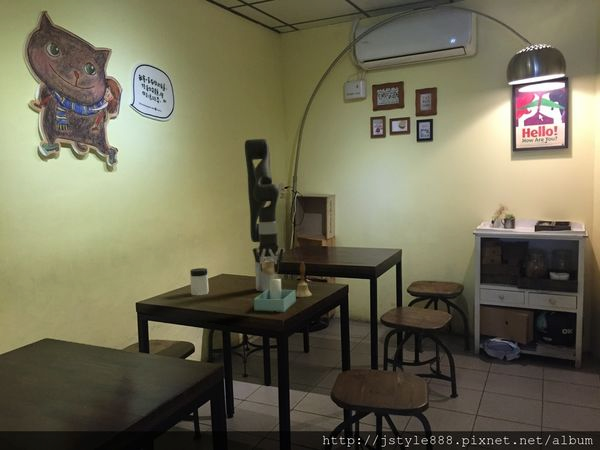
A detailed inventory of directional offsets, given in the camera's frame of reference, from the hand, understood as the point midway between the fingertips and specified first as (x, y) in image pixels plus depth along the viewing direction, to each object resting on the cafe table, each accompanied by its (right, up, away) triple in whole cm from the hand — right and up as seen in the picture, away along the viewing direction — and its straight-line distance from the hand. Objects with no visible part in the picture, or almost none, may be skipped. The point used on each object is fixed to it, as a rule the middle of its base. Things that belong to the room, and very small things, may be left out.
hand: (269, 272), depth 200 cm
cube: (0, -1, 0) cm, 0 cm away
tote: (+2, -15, +7) cm, 17 cm away
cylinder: (+2, -14, +10) cm, 18 cm away
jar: (-37, -14, +35) cm, 53 cm away
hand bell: (+14, -13, +24) cm, 31 cm away
